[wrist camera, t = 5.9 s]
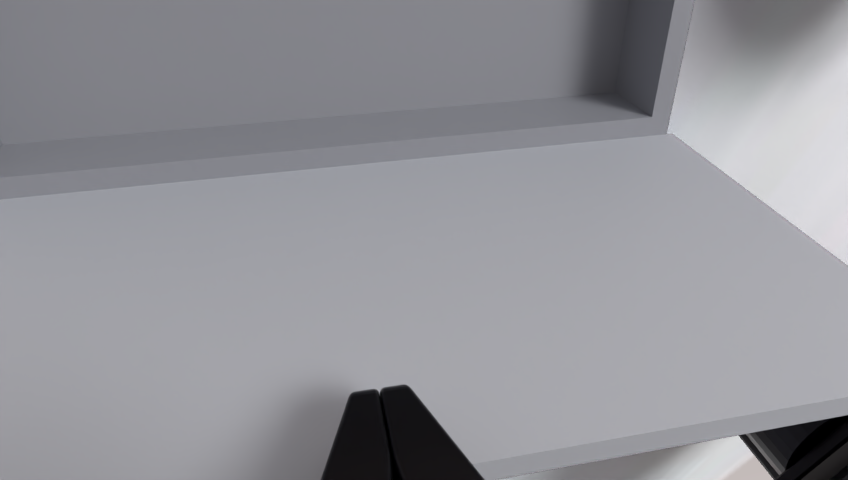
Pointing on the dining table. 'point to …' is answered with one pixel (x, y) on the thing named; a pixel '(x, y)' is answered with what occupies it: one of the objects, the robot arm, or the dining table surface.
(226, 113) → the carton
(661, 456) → the dining table surface
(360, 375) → the lid flap
